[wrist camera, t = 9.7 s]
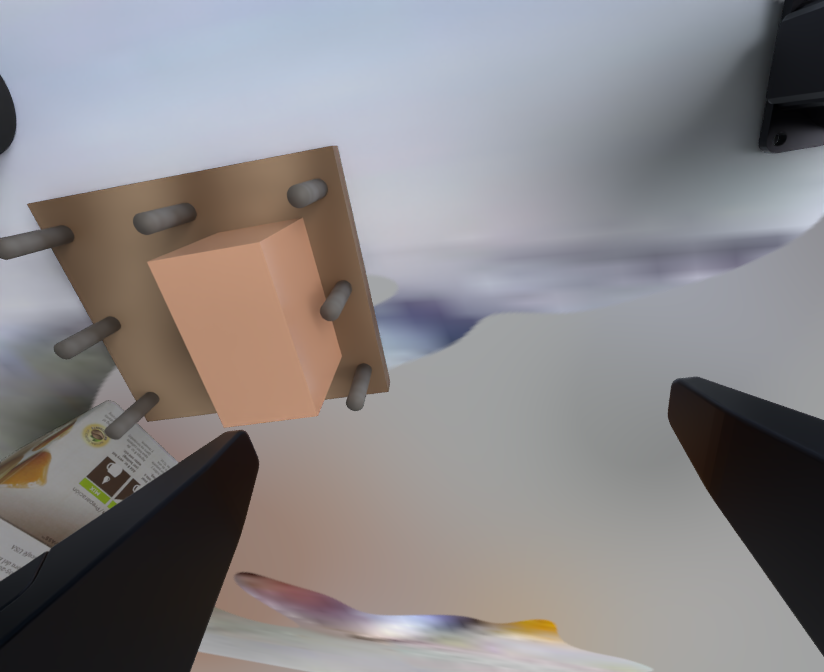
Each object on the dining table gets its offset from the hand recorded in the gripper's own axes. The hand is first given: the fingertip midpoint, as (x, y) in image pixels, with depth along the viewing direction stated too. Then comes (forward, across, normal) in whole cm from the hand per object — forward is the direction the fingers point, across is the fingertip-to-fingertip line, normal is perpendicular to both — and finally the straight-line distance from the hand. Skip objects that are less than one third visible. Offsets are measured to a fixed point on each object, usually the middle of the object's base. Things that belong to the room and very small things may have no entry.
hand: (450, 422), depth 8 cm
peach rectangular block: (+11, +8, 0) cm, 13 cm away
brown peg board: (+12, +10, 0) cm, 16 cm away
